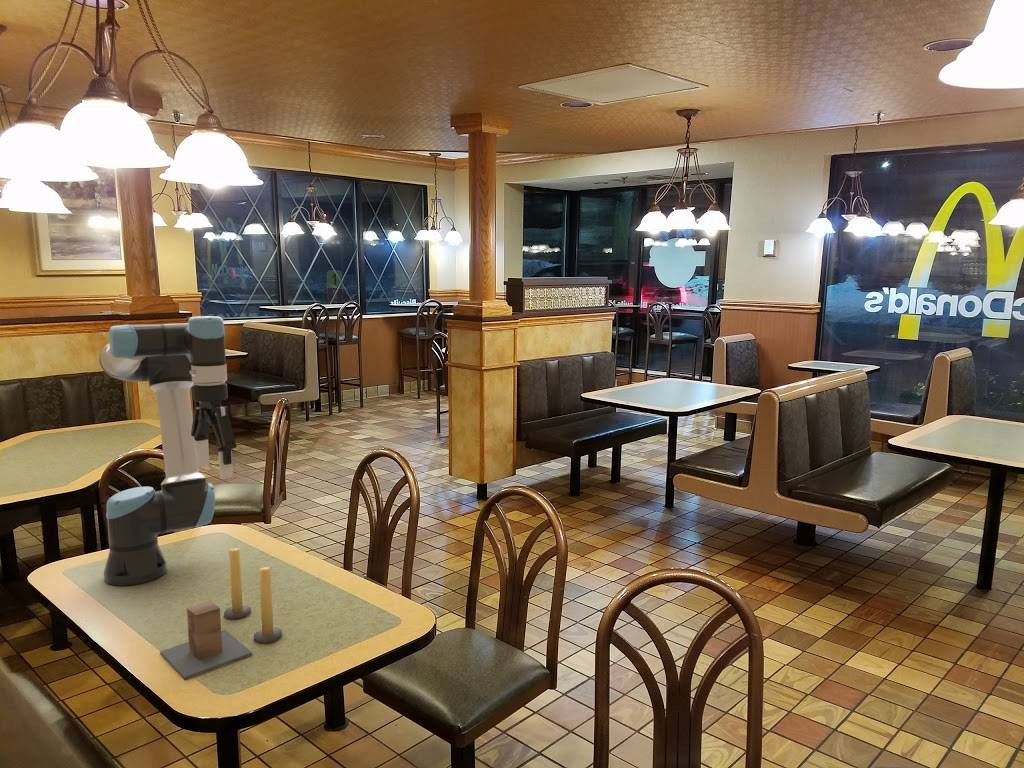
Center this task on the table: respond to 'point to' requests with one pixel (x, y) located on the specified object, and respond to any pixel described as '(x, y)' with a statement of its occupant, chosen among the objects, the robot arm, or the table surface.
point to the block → (204, 630)
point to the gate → (241, 611)
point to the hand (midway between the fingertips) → (214, 472)
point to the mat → (192, 666)
